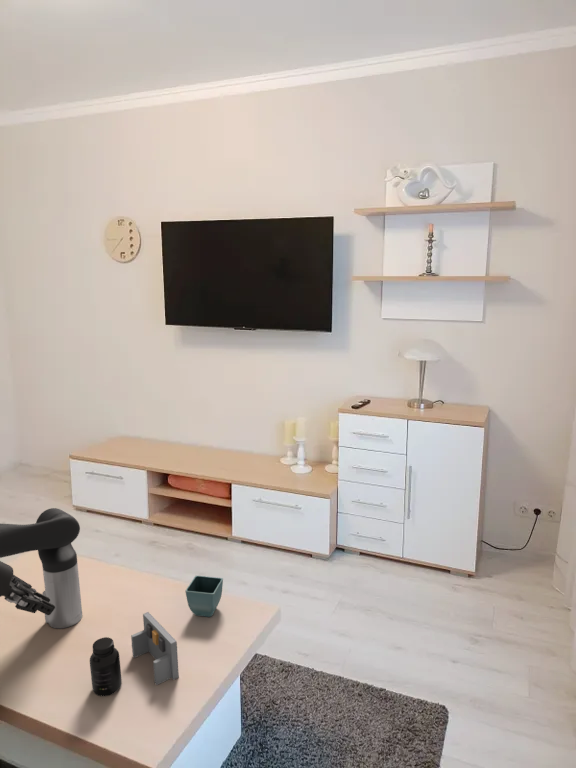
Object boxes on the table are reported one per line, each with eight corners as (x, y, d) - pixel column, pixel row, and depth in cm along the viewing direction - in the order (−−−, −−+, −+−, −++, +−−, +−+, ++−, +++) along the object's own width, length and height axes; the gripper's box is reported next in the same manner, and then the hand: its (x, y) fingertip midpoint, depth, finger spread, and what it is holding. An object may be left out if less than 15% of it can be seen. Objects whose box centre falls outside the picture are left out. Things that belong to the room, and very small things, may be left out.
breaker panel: (158, 687, 137) (155, 650, 135) (131, 654, 149) (128, 619, 147) (178, 677, 140) (176, 641, 138) (150, 645, 152) (148, 611, 150)
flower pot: (215, 622, 162) (213, 593, 160) (186, 619, 164) (184, 590, 162) (224, 605, 170) (223, 577, 169) (196, 602, 172) (195, 575, 171)
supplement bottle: (96, 678, 140) (92, 635, 138) (124, 676, 141) (120, 633, 138) (89, 698, 133) (84, 653, 131) (118, 696, 134) (114, 651, 132)
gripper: (-38, 577, 120) (29, 608, 130) (-25, 606, 109) (47, 637, 119) (-13, 546, 122) (51, 579, 132) (2, 572, 111) (71, 605, 121)
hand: (49, 606), depth 125 cm, fingers open, 3 cm apart
